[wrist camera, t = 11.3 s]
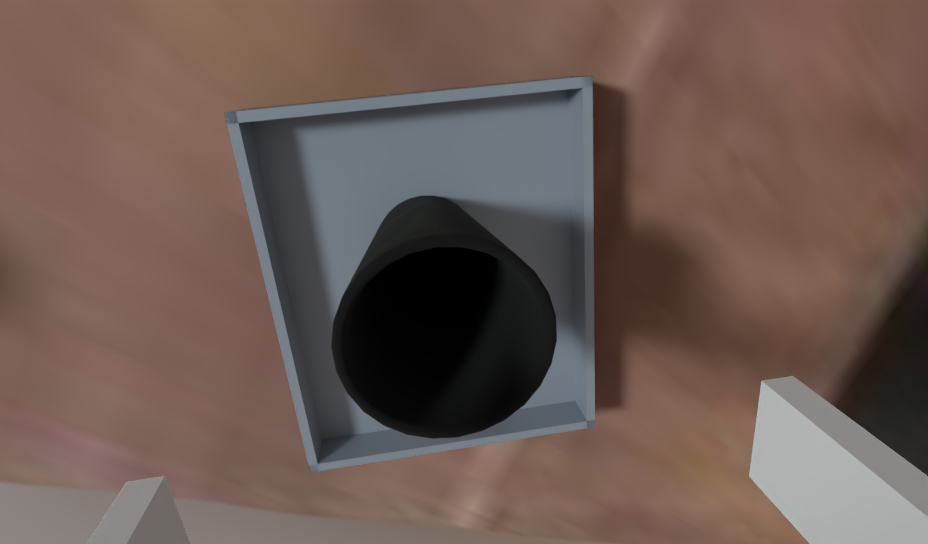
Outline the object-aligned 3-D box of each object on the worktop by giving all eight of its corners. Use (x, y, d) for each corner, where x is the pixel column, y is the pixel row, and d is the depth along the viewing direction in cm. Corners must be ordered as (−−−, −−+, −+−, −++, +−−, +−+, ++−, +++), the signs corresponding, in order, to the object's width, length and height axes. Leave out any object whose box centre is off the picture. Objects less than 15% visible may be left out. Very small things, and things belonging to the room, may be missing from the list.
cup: (409, 145, 27) (419, 187, 16) (523, 227, 29) (602, 314, 18) (329, 263, 29) (286, 377, 18) (443, 332, 31) (470, 472, 20)
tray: (242, 109, 26) (224, 112, 24) (572, 76, 28) (592, 75, 25) (317, 439, 33) (310, 472, 30) (578, 399, 35) (595, 426, 32)
